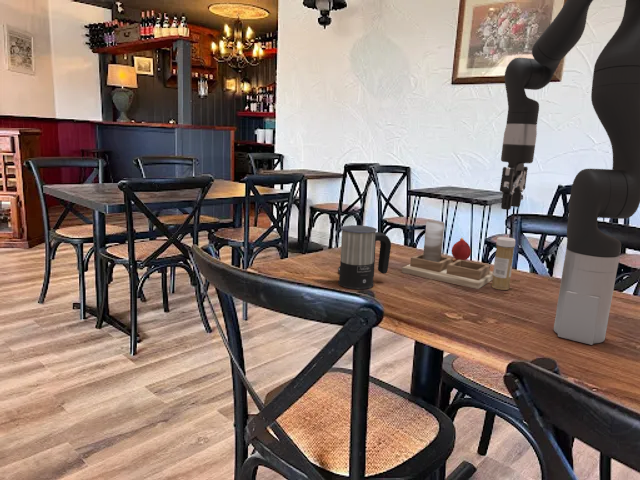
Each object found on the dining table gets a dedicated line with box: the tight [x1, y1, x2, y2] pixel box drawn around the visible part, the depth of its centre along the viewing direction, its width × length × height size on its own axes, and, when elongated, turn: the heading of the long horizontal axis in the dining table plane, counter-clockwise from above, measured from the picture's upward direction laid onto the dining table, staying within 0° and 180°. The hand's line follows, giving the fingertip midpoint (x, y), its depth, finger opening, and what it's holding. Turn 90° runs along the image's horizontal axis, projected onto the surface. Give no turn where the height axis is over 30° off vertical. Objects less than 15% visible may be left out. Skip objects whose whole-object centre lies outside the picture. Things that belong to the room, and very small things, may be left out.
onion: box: [451, 237, 472, 261], centre depth 153 cm, size 6×6×8 cm
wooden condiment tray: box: [401, 220, 493, 290], centre depth 137 cm, size 15×22×14 cm
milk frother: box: [337, 224, 392, 290], centre depth 128 cm, size 14×16×15 cm
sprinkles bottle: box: [491, 236, 516, 291], centre depth 127 cm, size 5×5×14 cm
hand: (510, 207), depth 124 cm, fingers open, 8 cm apart
